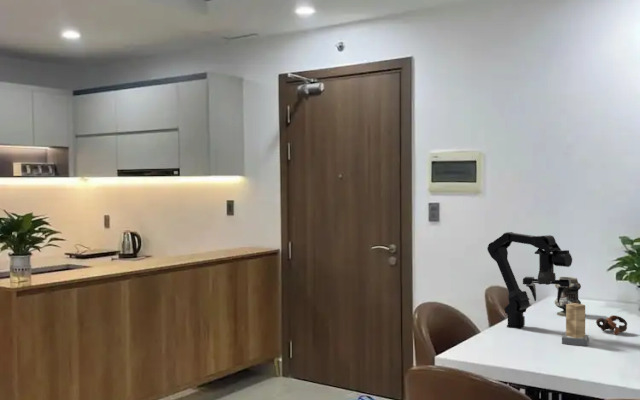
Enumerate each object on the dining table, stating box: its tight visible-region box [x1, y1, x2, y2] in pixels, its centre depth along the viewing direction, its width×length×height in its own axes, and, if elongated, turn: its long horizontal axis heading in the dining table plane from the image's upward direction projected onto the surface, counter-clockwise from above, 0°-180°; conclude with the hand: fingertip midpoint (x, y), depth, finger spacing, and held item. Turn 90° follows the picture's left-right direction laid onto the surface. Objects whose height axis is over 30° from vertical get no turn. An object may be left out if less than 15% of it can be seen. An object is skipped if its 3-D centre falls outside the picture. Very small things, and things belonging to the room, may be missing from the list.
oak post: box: [565, 303, 586, 338], centre depth 259 cm, size 5×5×12 cm
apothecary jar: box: [553, 276, 582, 317], centre depth 317 cm, size 12×12×18 cm
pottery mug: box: [595, 315, 628, 336], centre depth 277 cm, size 12×10×8 cm
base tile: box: [561, 332, 590, 347], centre depth 259 cm, size 9×9×3 cm
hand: (546, 301), depth 277 cm, fingers open, 9 cm apart
